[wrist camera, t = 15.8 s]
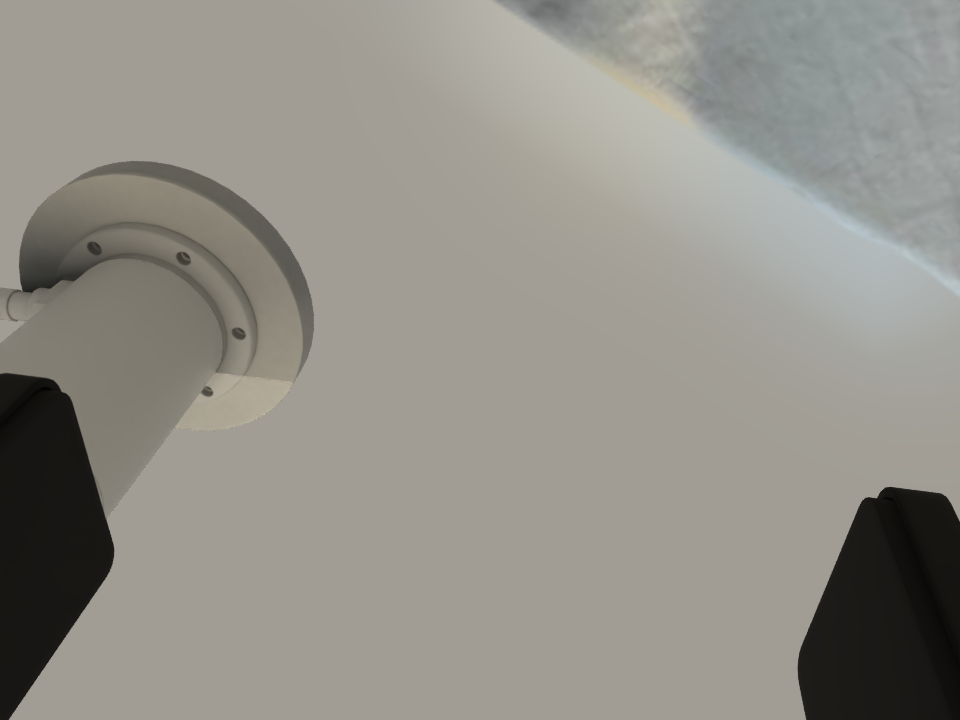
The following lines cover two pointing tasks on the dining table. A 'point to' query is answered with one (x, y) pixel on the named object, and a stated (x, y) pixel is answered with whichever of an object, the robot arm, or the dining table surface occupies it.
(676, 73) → the dining table surface
